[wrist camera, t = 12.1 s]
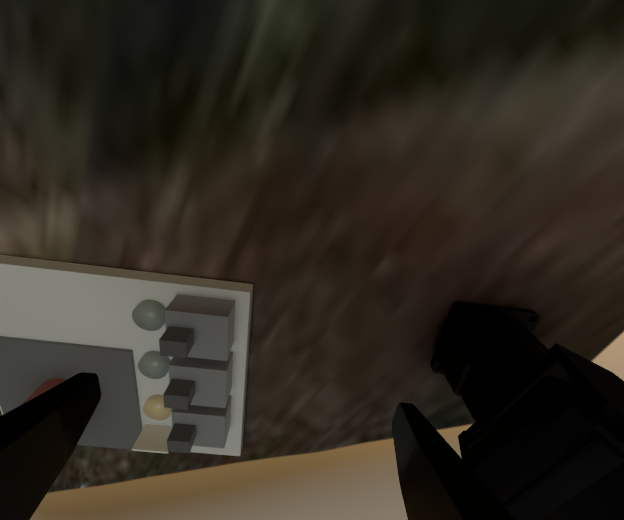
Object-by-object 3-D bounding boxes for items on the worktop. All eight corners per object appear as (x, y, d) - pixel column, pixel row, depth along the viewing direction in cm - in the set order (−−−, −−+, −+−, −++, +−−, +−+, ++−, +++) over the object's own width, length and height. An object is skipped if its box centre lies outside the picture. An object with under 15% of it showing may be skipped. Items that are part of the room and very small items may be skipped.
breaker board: (253, 284, 22) (239, 321, 18) (242, 443, 29) (231, 497, 25) (-38, 250, 21) (-124, 281, 17) (22, 424, 28) (-29, 476, 24)
